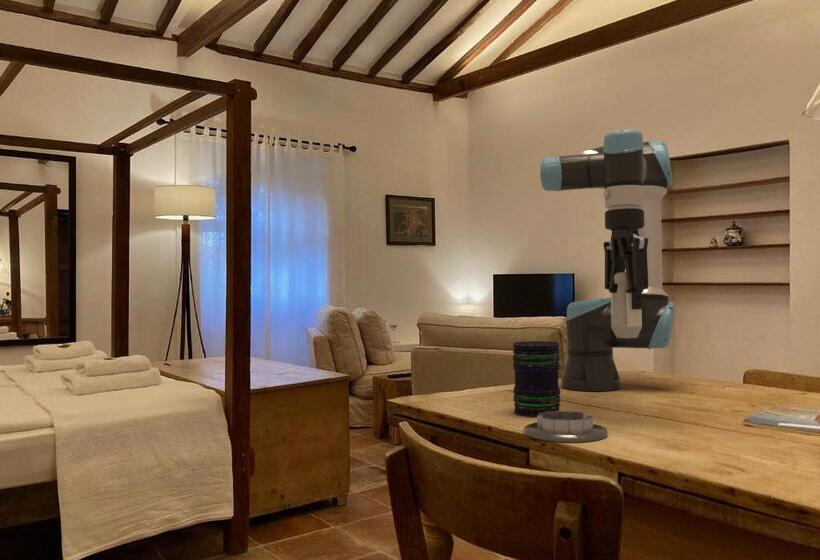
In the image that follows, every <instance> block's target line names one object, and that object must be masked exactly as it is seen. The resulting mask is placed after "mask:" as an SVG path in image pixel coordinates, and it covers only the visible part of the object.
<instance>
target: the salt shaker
mask: <svg viewBox="0 0 820 560" xmlns="http://www.w3.org/2000/svg"><path fill="white" fill-rule="evenodd" d="M614 282H615V283H616V284H618V288H617V294H616V299H615V305H614V311H613V316H612V322H611V328H612V330H613V332H614V334H615V335H616V338H638V335H639V333H640V330H641V328H642V326H641V327H627V294H626V290H627V289H629V287H628V281H627V275H626V271H625V272H618V273H616V274H615V275H614Z"/></svg>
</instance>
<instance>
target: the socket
mask: <svg viewBox="0 0 820 560" xmlns="http://www.w3.org/2000/svg"><path fill="white" fill-rule="evenodd" d="M559 410H560V411H547V412H542V413H539V414H538V415H537V418H536V419H537V422H533V423H530V424H526V425H525V426H524V428H523V433H524V435H525V436H526V437H528V438H531V439H533V440H534V439H535V440H538V441H544V442H551V443H560V444H561V443H562V444H565V443H566V444H567V443H568V444H577V443H578V444H580V443H592V442H597V441H601V440H604V439H606V438H608V428H606V427H604V426H602V425H598V424H595V423H594V415H590V414H589V415H587V412H584V411H577V410H561V409H559Z"/></svg>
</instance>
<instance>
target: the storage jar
mask: <svg viewBox="0 0 820 560" xmlns="http://www.w3.org/2000/svg"><path fill="white" fill-rule="evenodd" d="M512 346H513V347H512V348H513V350H512V351H513V352H512V361H513V362H512V363H513V365H512V366H513V370H514V387H513V402H514V404H513V405H514V406H513V407H514V410H513V412H514V415H516V414H517V415H516V416H519V415H520V416H519V417H523V416H525V417H524V418H534V417H537V415H538V414H539V413H542V412H547V411H560V410H561V409H560V407H561V404H560V403H561V388H560V387H559V370H560V362H561V361H560V360H561V357H560V350H559V348H560V343H559V342H556V341H540V340H539V341H533V340H532V341H530V340H529V341H516V342H513V343H512Z"/></svg>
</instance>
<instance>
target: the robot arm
mask: <svg viewBox="0 0 820 560" xmlns="http://www.w3.org/2000/svg"><path fill="white" fill-rule="evenodd" d="M539 173H540V174H539V175H540V176H539V177H540V183H541V187H542V189H543V190H544V191H546V192H562V191H572V190H573V191H574V190H584V189H585V190H586V189H604V192H603V197H604V208H606V209H607V210H606V211H605V212H604V228H605V229H606V230H608V231H611V236H610V241H604V242H603V249H604V289H605V290H608V292H609V293H610V297H603V298H595V299H587V300H580V301H573V302H571V303H569V304H568V306H567V309H566V320H565V322H566V346H567V347H566V350H567V351H566V353H567V354H566V355H567V356H566V357H567V358H566V361H565V364H564V368H563V370H562V374H561V378H560V386H561V388H563V389H566V390H572V391H579V392H580V391H581V392H608V391H615V390H616V391H617V390H619V389H621V388H622V386H621V377H620V375H619V372H618V368H617V366H616V363H615V360H614V348H615V349H616V348H618V349H620V348H621V349H648V350H652V349H665V348H668V346H669V345H670V343H671V340H672V335H673V334H672V333H673V327H674V319H675V318H674V317H675V306H676V305H675V303H674V302H672V301H670V300H669V297H670V296H669V294H668V293H666V291H664V289H663V258H662V256H663V255H662V252H663V251H662V249H663V248H662V246H663V245H662V238H663V237H662V236H663V235H662V198H663V197H664V196H665V195H666V194H667V193H668V187H669V186H672V185H673V184H674V179H673V173H672V168H671V161H670V155H669V148H668V144H667V143H666V142H665V141H661V140H660V141H659V140H657V141H654V140H653V141H650V140H647V141H644V140H643V134H642V132H641V131H640V130H637V129H617V130H613V131H610V132H608V133H606V134H605V135H604V137H603V145H601V146H598V147H595V148H591V149H588V150H584V151H581V152H579V153H578V154H569V155H568V154H567V155H559V156H558V155H554V156H551V157H550V156H549V157H545V158H543V159H542V161H541V164H540V170H539ZM618 272H626V275H627V281H628V287H629V289H627V290H626V294H627V327H641V326H642V328H641V330H640V333H639V335H638V338H616V335H615V334H614V332H613V330H612V328H611V322H612V316H613V311H614V305H615V299H616V294H617V288H618V284H616V283H615V282H614V275H615V274H616V273H618Z"/></svg>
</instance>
